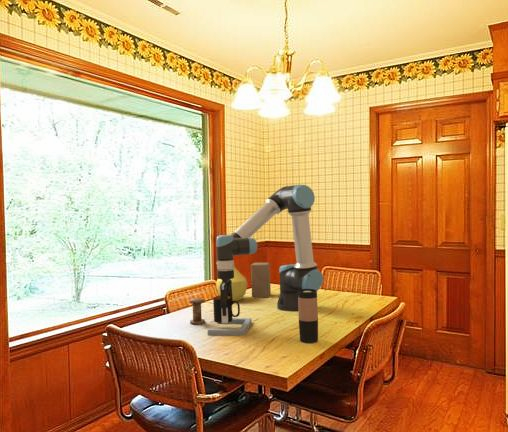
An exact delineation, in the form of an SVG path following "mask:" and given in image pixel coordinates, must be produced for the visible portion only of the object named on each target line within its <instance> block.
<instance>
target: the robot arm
mask: <svg viewBox="0 0 508 432" xmlns="http://www.w3.org/2000/svg"><path fill="white" fill-rule="evenodd" d="M314 193H315V192H314V190H313V189H312V188H311V187H310V186H309V185H306V184H294V185H286V186H283V187H280V188H279V189H277V190H276V191H275V192H273V193H272V195H270V196H269V197H268V198H267V199H266V200H265V203H264V204H263V205H262V206H261V207H260V208H259V209H257V210H256V212H254V213H253V214H252V215H251V216H250V217H249V218H248V219H247V220H245V221H244V222H243V223H242V224H241V225H239V227H238V228H237V229H236V230H235V231H233V232H232V233H231V234H223V235H222V234H220V235H218V236H216V242H215V247H216V262H215V264H216V268H217V271H216V272H217V274H216V276H217V280H218V279H222V283H221V285H220V295H219V296H220V307H219V308H221V312H222V323H221V324H228V308H227V300H228V296H231V297H232V280H230V279H233V278H234V270H233V269H234V266H235V262H234V257H235V256H244V255H245V256H246V255H253V254H256V252H257V250H258V242H257V240H256V239H255V238H254V237H253V236H254V235H255V233H257V232H258V231H259V230H260V229H261V228H262V227H263V226H264V225H265V224H267V223H268V222H269V221H270V220H271V219H272V218H273V217H274V216H275V215H279V214H280V213H281V212H282V211H284V210H287V213H288V214H289V215H290V217H291V224H292V232H293V233H292V234H293V242H294V251H295V259H296V261H295V262H296V263H294V264H284V265H281V266H279V271H278V274H279V297H278V300H277V304H276V307H277V310H282V311H291V312H294V311H298V290H301V289H315V290H317V292H318V291H319V290H320V289H321V287H322V286H323V284H324V283H323V282H324V275H323V273H322V272H321V271H320V270H319V269H318V264H317V263H316V262H315V261H314V253H313V244H312V235H311V225H310V224H311V223H310V213H311V212H312V206H313V205H314V203H315V199H316V197H315V194H314ZM232 300H233V298H232Z"/></svg>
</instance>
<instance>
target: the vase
mask: <svg viewBox="0 0 508 432" xmlns="http://www.w3.org/2000/svg"><path fill="white" fill-rule="evenodd" d="M233 270H234V278H233V279H230V280H232V298H233V300H232V301H237V302H239V301H241V300H242V299H243V298H244V296H245V295H246V292H247V289H248V281H247V278H246V277H245V276H243V274H242V273H241V272H240V271H239V270H238V269H237V268H236V266H235V265H234V269H233ZM221 283H222V279H218V278H217V280H216V290H217V293H218V296H220V285H221Z"/></svg>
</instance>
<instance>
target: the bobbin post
mask: <svg viewBox="0 0 508 432" xmlns="http://www.w3.org/2000/svg"><path fill="white" fill-rule="evenodd" d="M204 302H205V298H202V297H197V298H194V297H193V298H190V299H189V303H190V304H192V319H191V320H189V324H190V325H194V326H195V325H199V326H200V325H202V324H205V322H206V320H205V319H204V318H203V317H202V303H204Z"/></svg>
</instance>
